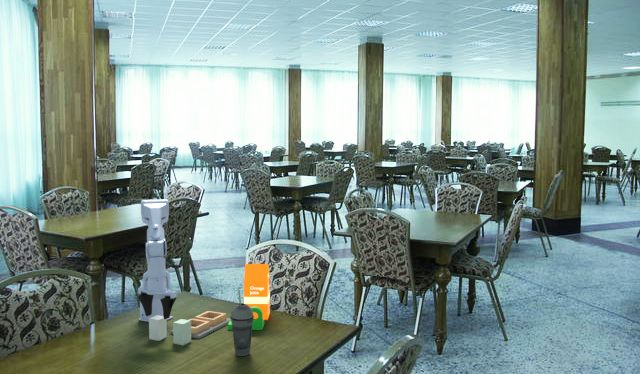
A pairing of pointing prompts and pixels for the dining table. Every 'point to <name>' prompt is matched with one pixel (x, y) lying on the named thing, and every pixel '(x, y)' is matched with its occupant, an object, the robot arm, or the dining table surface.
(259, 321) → the mechanical part
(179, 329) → the sage block
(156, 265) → the robot arm
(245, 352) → the beverage cup
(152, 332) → the grey-green rectangular block
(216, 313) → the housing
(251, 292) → the orange juice
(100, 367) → the dining table surface
